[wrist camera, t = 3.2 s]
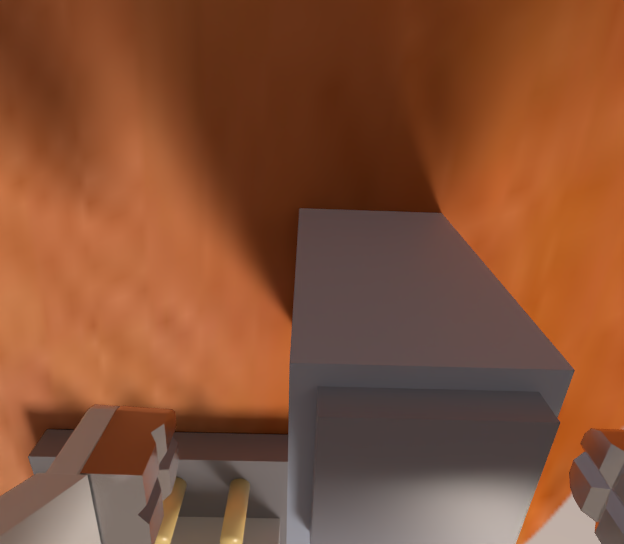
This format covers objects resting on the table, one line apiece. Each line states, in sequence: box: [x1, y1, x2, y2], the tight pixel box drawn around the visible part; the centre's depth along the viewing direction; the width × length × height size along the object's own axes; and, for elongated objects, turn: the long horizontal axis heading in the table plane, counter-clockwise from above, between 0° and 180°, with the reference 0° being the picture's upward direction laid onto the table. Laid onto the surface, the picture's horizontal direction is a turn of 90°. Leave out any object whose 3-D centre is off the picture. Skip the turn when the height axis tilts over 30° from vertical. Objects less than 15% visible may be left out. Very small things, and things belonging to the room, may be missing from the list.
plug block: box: [286, 208, 574, 544], centre depth 10 cm, size 4×4×8 cm
